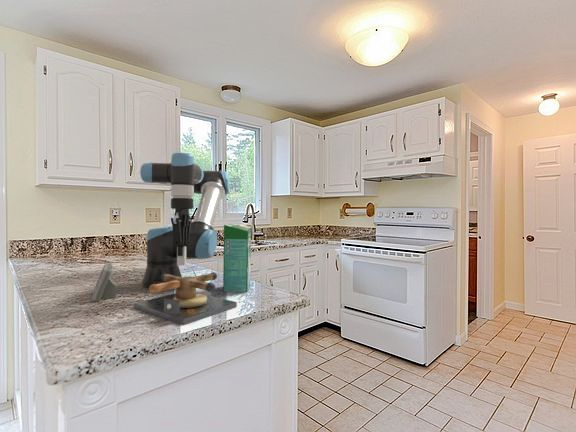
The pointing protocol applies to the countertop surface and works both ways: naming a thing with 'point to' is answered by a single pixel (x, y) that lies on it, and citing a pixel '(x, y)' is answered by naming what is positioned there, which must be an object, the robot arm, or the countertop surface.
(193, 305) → the capstan
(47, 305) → the countertop surface
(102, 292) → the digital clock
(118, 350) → the countertop surface
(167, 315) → the stand
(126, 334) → the countertop surface
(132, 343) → the countertop surface
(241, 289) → the milk carton
